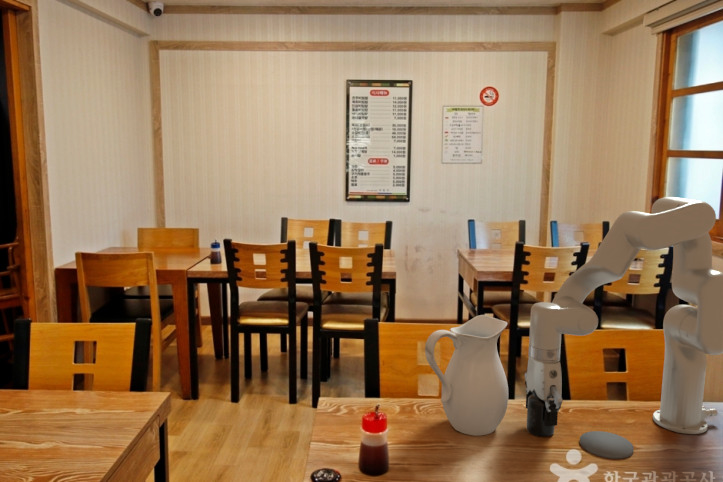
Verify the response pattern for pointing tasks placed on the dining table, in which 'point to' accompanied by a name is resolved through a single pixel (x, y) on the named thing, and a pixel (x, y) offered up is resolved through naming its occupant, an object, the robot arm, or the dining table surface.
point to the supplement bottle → (538, 416)
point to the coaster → (606, 445)
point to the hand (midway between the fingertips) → (540, 416)
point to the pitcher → (472, 376)
